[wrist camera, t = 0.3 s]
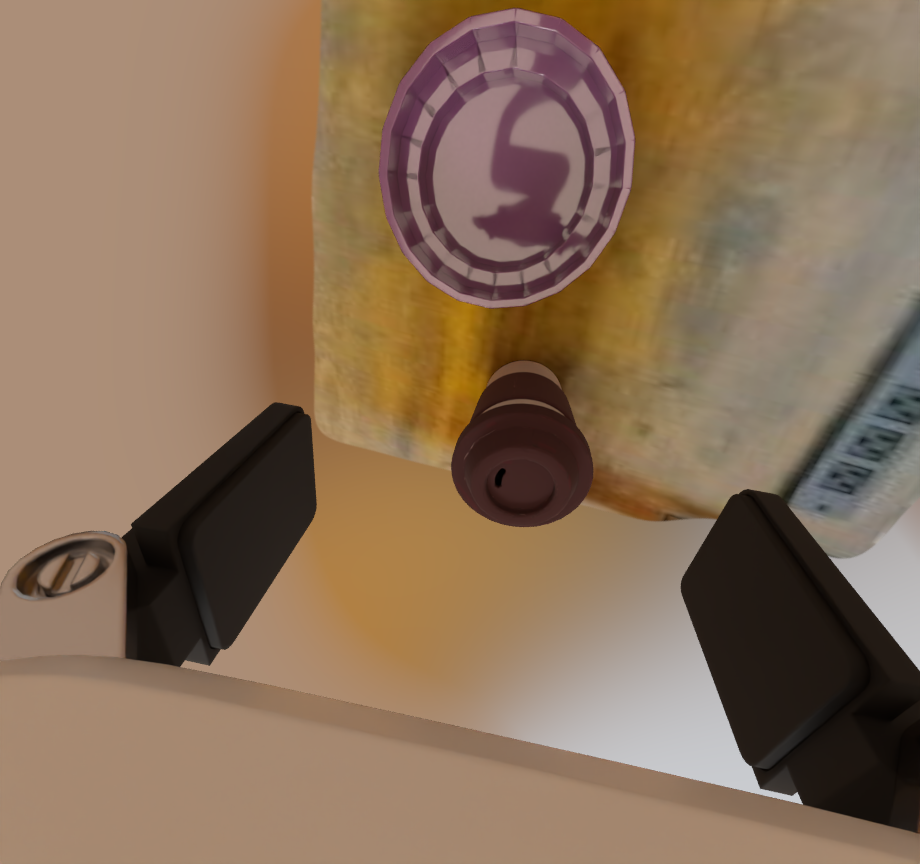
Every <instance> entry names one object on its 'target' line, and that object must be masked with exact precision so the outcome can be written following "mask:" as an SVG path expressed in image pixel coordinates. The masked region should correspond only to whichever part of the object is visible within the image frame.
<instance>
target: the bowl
mask: <svg viewBox="0 0 920 864" xmlns="http://www.w3.org/2000/svg"><path fill="white" fill-rule="evenodd" d="M634 151H635V135H634V130H633V125H632V120H631V116H630V111H629V106H628V102H627V97H626V92H625V91H624V88H623V86H622V84H621V83H620V81H619V79H618V78H617V76H616V74H615V72H614V71H613V69H612V67H611V66H610V64H609V62H608V61H607V59H606V57H605V56H604V54H603V52H602V51H601V49H600V48H599V47H598V46H597V45H596V44H594V43H593V42H592V41H591V40H589V39H588V38H587V37H585V36H584V35H583V34H582V33H580V32H579V31H578V30H576V29H575V28H574V27H572V26H571V25H570V24H569V23H567V22H566V21H565V20H563V19H561V18H559V17H555V16H550V15H546V14H542V13H538V12H533V11H529V10H525V9H521V8H510V9H505V10H500V11H495V12H490V13H485V14H480V15H475V16H471V17H468V18H467V19H465V20H464V21H462V22H461V23H459V24H458V25H456V26H455V27H453V28H452V29H450V30H449V31H447V32H446V33H444V34H443V35H441V36H439V37H438V38H436V39H435V40H433V41H432V42H430V44H428V46H427V47H426V48H425V50H424V51H423V52H422V54H421V55H420V56H419V58H418V59H417V60H416V62H415V63H414V64H413V66H412V67H411V68H410V69H409V71H408V72H407V73H406V75H405V76H404V77H403V79H402V80H401V81H400V83H399V86H398V88H397V91H396V94H395V96H394V99H393V102H392V104H391V107H390V110H389V112H388V115H387V118H386V120H385V123H384V126H383V130H382V141H381V152H380V164H379V179H380V185H381V191H382V197H383V202H384V208H385V214H386V218H387V220H388V222H389V224H390V227H391V229H392V231H393V233H394V235H395V237H396V240H397V242H398V244H399V246H400V248H401V250H402V252H403V254H404V255H405V256H406V257H407V259H408V260H409V261H410V262H411V263H412V264H413V266H414V267H415V268H416V269H417V270H418V271H419V272H420V274H421V275H422V276H423V277H424V278H425V279H426V280H427V281H428V282H429V283H430V284H432V285H434V286H435V287H437V288H438V289H440V290H442V291H443V292H445V293H446V294H448V295H450V296H451V297H453V298H455V299H456V300H458V301H462V302H466V303H470V304H474V305H478V306H482V307H486V308H491V309H492V308H505V307H519V306H526V305H529V304H531V303H534V302H536V301H539V300H541V299H544V298H546V297H549V296H551V295H554V294H556V293H558V292H560V291H562V290H563V289H564V288H565V287H567V286H568V285H569V284H570V283H572V282H573V281H574V280H575V279H577V278H578V277H579V276H580V275H582V274H583V273H584V272H585V271H587V270H588V269H589V268H590V267H591V266H592V264H593V263H594V262H595V260H596V259H597V257H598V256H599V255H600V253H601V252H602V250H603V249H604V248H605V246H606V245H607V243H608V242H609V241H610V239H611V238H612V236H613V235H614V234H615V231H616V229H617V226H618V224H619V221H620V218H621V216H622V213H623V210H624V207H625V205H626V202H627V199H628V197H629V194H630V191H631V187H632V176H633V163H634Z"/></svg>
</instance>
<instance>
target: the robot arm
mask: <svg viewBox="0 0 920 864" xmlns="http://www.w3.org/2000/svg"><path fill="white" fill-rule="evenodd" d="M316 505H317V504H316V490H315V474H314V459H313V444H312V429H311V418H310V416H309V415H307V414H304V411H303V409H302V408H301V407H299V406H293V405H288V404H283V403H273V404H271V405H270V406H269V407H268V408H266V409H265V410H264V411H263V412H262V413H261V414H260V415H258V416H257V417H256V418H255V419H254V420H252V421H251V422H250V423H249V424H248V425H247V426H245V427H244V428H243V429H242V430H241V431H240V432H238V433H237V434H236V435H235V436H234V437H232V438H231V439H230V440H229V441H228V442H227V443H225V444H224V445H223V446H222V447H221V448H220V449H218V450H217V451H216V452H215V453H214V454H213V455H211V456H210V457H209V458H208V459H207V460H206V461H204V463H202V464H201V465H200V466H199V467H197V468H196V469H195V470H194V471H193V472H191V473H190V474H189V475H188V476H187V477H186V478H185V479H183V480H182V481H181V482H180V483H179V484H178V485H176V486H175V487H174V488H173V489H172V490H171V491H169V492H168V493H167V494H166V495H165V496H163V497H162V498H161V499H160V500H159V501H157V502H156V503H155V504H154V505H153V506H152V507H151V508H149V509H148V510H147V511H146V512H145V513H143V514H142V515H141V516H140V517H139V518H138V519H136V520H135V521H134V522H133V523H132V524H131V526H132V529H131V530H130V531H128V533H126V534H125V535H124V536H123V537H122V538H120V537H119V536H118V535H116V534H113V533H110V532H106V531H88V532H81V533H75V534H71V535H67V536H65V537H61V538H58V539H54V540H52V541H50V542H48V543H46V544H44V545H42V546H40V547H37V548H36V549H34V550H33V551H32V552H30V553H29V554H27V555H25V556H24V557H22V558H21V559H20V560H19V561H18V562H17V563H16V564H15V565H14V566H13V567H12V568H11V569H10V570H8V572H7V574H6V576H5V577H4V579H3V581H2V583H1V586H0V864H920V671H919V670H918V668H917V667H916V666H915V665H914V663H913V662H912V661H911V660H910V658H909V657H908V656H907V655H906V653H905V652H904V651H903V650H902V648H901V647H900V646H899V644H898V643H897V642H896V641H895V640H894V638H893V637H892V636H891V634H890V633H889V632H888V631H887V630H886V628H885V627H884V626H883V625H882V623H881V622H880V621H879V620H878V618H877V617H876V616H875V614H874V613H873V612H872V611H871V609H870V608H869V607H868V606H867V604H866V603H865V602H864V601H863V599H862V598H861V597H860V596H859V594H858V593H857V592H856V591H855V589H854V588H853V587H852V586H851V584H850V583H849V582H848V581H847V579H846V578H845V577H844V576H843V574H842V573H841V572H840V571H839V569H838V568H837V567H836V566H835V565H834V563H833V562H832V561H831V559H830V558H829V557H828V556H827V554H826V553H825V552H824V551H823V549H822V548H821V547H820V546H819V544H818V543H817V542H816V541H815V539H814V538H813V537H812V536H811V534H810V533H809V532H808V531H807V529H806V528H805V527H804V526H803V524H802V523H801V522H800V521H799V519H798V518H797V517H796V516H795V514H794V513H793V512H792V511H791V509H790V508H789V507H788V506H787V504H786V503H785V502H784V501H783V499H782V498H781V497H779V496H778V495H775V494H771V493H766V492H760V491H755V490H749V489H747V490H743V491H742V492H740V493H739V494H735V495H733V496H731V498H730V499H729V500H728V502H727V504H726V506H725V507H724V509H723V511H722V512H721V514H720V516H719V517H718V519H717V521H716V522H715V524H714V526H713V527H712V529H711V531H710V532H709V534H708V536H707V538H706V539H705V541H704V542H703V544H702V546H701V547H700V549H699V551H698V552H697V554H696V556H695V557H694V559H693V561H692V562H691V564H690V566H689V567H688V569H687V571H686V572H685V574H684V576H683V578H682V581H681V593H682V596H683V599H684V602H685V604H686V607H687V610H688V612H689V615H690V618H691V621H692V623H693V626H694V628H695V632H696V634H697V637H698V640H699V642H700V645H701V648H702V651H703V653H704V656H705V658H706V661H707V664H708V667H709V669H710V672H711V675H712V677H713V680H714V683H715V686H716V688H717V691H718V694H719V697H720V699H721V702H722V704H723V707H724V710H725V713H726V716H727V718H728V720H729V723H730V726H731V729H732V732H733V734H734V737H735V740H736V742H737V745H738V748H739V751H740V753H741V755H742V757H743V759H744V760H745V762H746V763H747V764H749V765H750V766H752V768H753V771H754V774H755V776H756V779H757V781H758V784H759V786H760V789H765V790H769V791H774V792H778V793H782V794H787V795H791V796H792V795H794V794H795V793H796V792H798V794H799V796H800V799H801V801H802V803H803V805H802V804H798V803H793V802H789V801H785V800H780V799H776V798H772V797H767V796H763V795H759V794H754V793H750V792H745V791H741V790H737V789H732V788H728V787H723V786H719V785H715V784H711V783H706V782H702V781H697V780H693V779H689V778H684V777H680V776H676V775H671V774H667V773H663V772H658V771H654V770H650V769H645V768H641V767H637V766H632V765H628V764H623V763H619V762H614V761H610V760H606V759H601V758H596V757H592V756H588V755H583V754H579V753H574V752H570V751H565V750H561V749H557V748H552V747H548V746H543V745H539V744H534V743H530V742H526V741H521V740H517V739H512V738H508V737H503V736H499V735H494V734H490V733H485V732H481V731H476V730H472V729H467V728H463V727H459V726H454V725H450V724H445V723H441V722H436V721H432V720H427V719H422V718H418V717H414V716H409V715H404V714H400V713H395V712H391V711H386V710H381V709H377V708H372V707H368V706H363V705H358V704H354V703H349V702H345V701H340V700H336V699H331V698H326V697H321V696H317V695H313V694H308V693H303V692H299V691H294V690H290V689H285V688H281V687H276V686H272V685H267V684H262V683H257V682H252V681H247V680H242V679H237V678H232V677H227V676H222V675H217V674H212V673H207V672H202V671H197V670H191V669H187V668H181V667H180V666H181V665H182V663H183V662H184V661H185V660H187V661H191V662H196V663H200V664H205V665H209V666H210V664H211V663H212V661H213V660H214V658H215V657H216V655H217V654H218V652H219V651H220V649H224V650H225V649H227V648H229V647H230V646H231V645H232V644H233V642H234V641H235V639H236V638H237V636H238V635H239V633H240V632H241V630H242V628H243V627H244V625H245V624H246V622H247V621H248V619H249V618H250V616H251V615H252V613H253V611H254V610H255V608H256V607H257V605H258V604H259V602H260V601H261V599H262V597H263V596H264V594H265V593H266V591H267V590H268V588H269V587H270V585H271V584H272V582H273V580H274V579H275V577H276V576H277V574H278V572H279V571H280V569H281V568H282V567H283V565H284V563H285V562H286V560H287V559H288V557H289V556H290V554H291V553H292V551H293V550H294V548H295V546H296V545H297V543H298V542H299V540H300V538H301V537H302V536H303V534H304V533H305V531H306V529H307V528H308V526H309V525H310V523H311V522H312V520H313V518H314V515H315V512H316Z"/></svg>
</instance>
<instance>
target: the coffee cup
mask: <svg viewBox="0 0 920 864" xmlns="http://www.w3.org/2000/svg"><path fill="white" fill-rule="evenodd" d="M451 470H452V477H453V481H454V484H455V486H456V489H457V491H458V493H459V494H460V496H461V497H462V499H463V500H464V501H465V502H466V503H467V504H468V505H469V506H470V507H471V508H472V509H473V510H475V511H476V512H477V513H479V514H480V515H482V516H484V517H485V518H487V519H489V520H491V521H494V522H497V523H500V524H504V525H509V526H515V527H534V526H540V525H544V524H549V523H552V522H554V521H556V520H559V519H561V518H563V517H565V516H566V515H568V514H569V513H571V512H572V511H573V510H574V509H576V508H577V507H578V506H579V505H580V503H581V502H582V501H583V500H584V498H585V497H586V495H587V493H588V491H589V489H590V487H591V484H592V479H593V462H592V457H591V453H590V449H589V446H588V443H587V441H586V439H585V437H584V435H583V434H582V432H581V431H580V430H579V429H578V427H577V426H576V423H575V420H574V417H573V414H572V411H571V408H570V405H569V402H568V400H567V397H566V396H565V394H564V392H563V391H562V389H561V386H560V383H559V381H558V379H557V377H556V376H555V375H554V374H553V372H552V371H550V370H549V369H548V368H547V367H545V366H543V365H541V364H539V363H536V362H533V361H516V362H512V363H509V364H507V365H504V366H503V367H501V368H500V369H499V370H497V371H496V372H495V373H494V374H493V376H492V377H491V378H490V380H489V382H488V384H487V387H486V389H485V390H484V392H483V393H482V395H481V397H480V399H479V401H478V403H477V406H476V408H475V411H474V413H473V416H472V418H471V421H470V423H469V424H468V425H467V426H466V428H465V429H464V430H463V432H462V433H461V435H460V437H459V438H458V441H457V443H456V446H455V450H454V453H453V457H452V463H451Z"/></svg>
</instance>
